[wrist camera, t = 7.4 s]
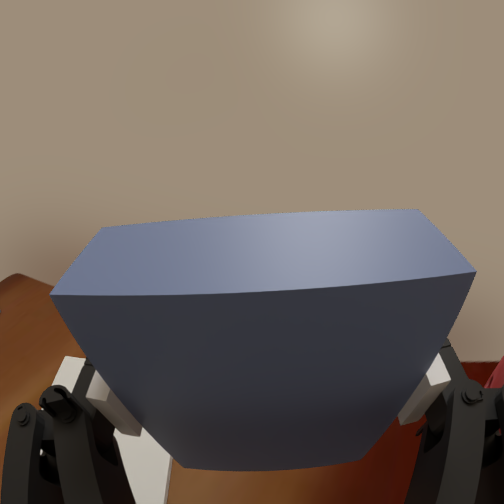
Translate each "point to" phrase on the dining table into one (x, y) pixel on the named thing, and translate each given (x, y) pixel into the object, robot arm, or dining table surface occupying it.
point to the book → (266, 329)
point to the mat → (131, 449)
